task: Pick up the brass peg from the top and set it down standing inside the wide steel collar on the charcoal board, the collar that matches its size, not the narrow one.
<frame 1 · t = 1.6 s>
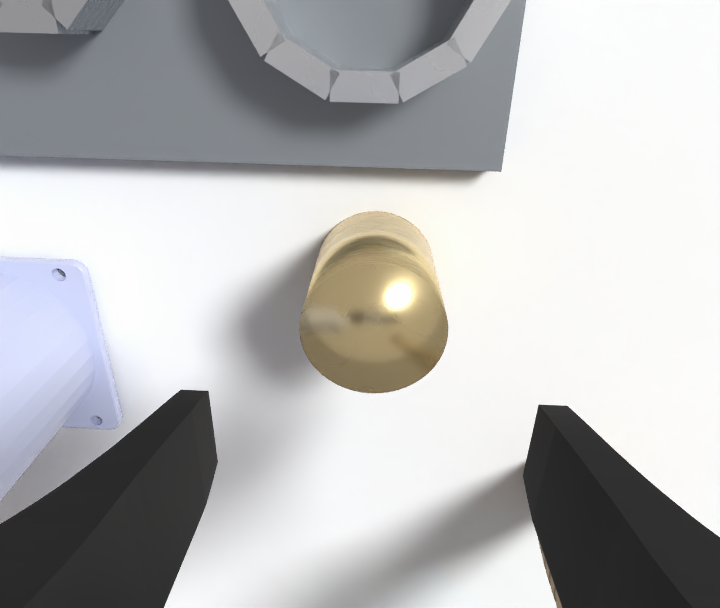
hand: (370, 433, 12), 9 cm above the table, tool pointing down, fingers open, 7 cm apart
brass peg: (375, 267, 20), on the table
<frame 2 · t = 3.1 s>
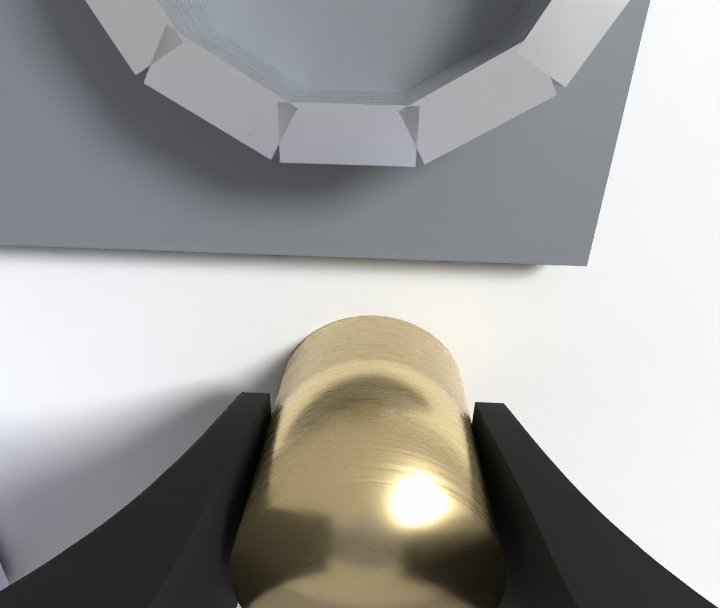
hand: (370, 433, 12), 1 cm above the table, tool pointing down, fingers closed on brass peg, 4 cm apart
brass peg: (371, 394, 13), on the table, touching gripper
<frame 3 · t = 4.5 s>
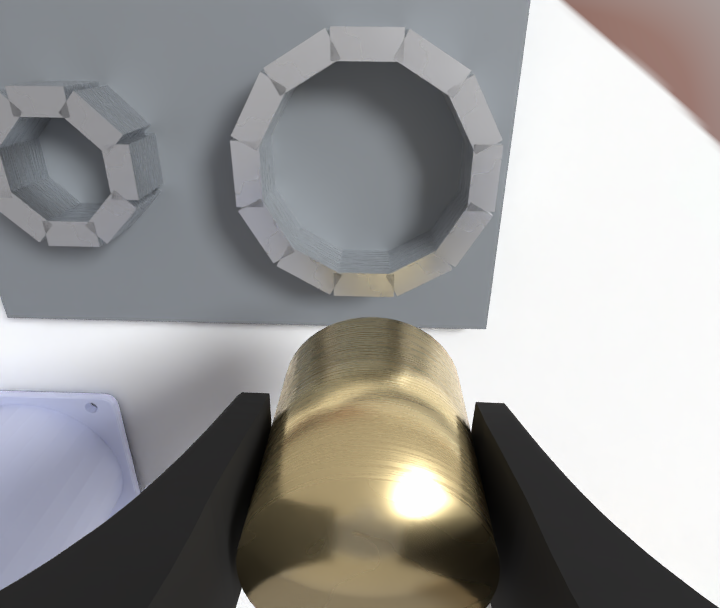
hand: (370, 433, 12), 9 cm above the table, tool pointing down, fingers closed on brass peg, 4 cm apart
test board: (234, 154, 18), on the table
wide collar: (367, 156, 18), resting on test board
narrow collar: (103, 152, 18), resting on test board
brass peg: (371, 393, 13), point 7 cm above the table, touching gripper
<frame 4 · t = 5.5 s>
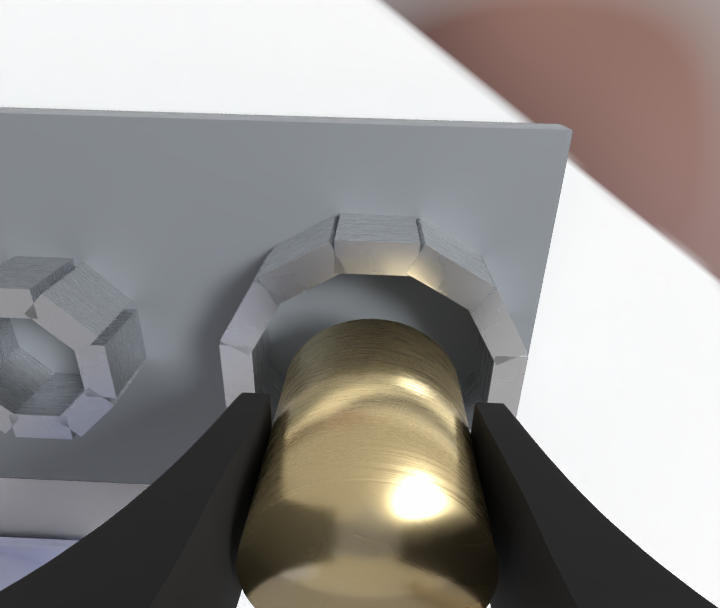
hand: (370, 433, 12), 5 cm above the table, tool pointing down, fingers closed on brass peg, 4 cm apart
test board: (226, 319, 16), on the table
wide collar: (372, 325, 16), resting on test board
narrow collar: (81, 314, 16), resting on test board
brass peg: (371, 394, 13), point 3 cm above the table, touching gripper
when the fingers open (4 cm above the table, at t = 6.2 s): brass peg drops 1 cm, resting on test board.
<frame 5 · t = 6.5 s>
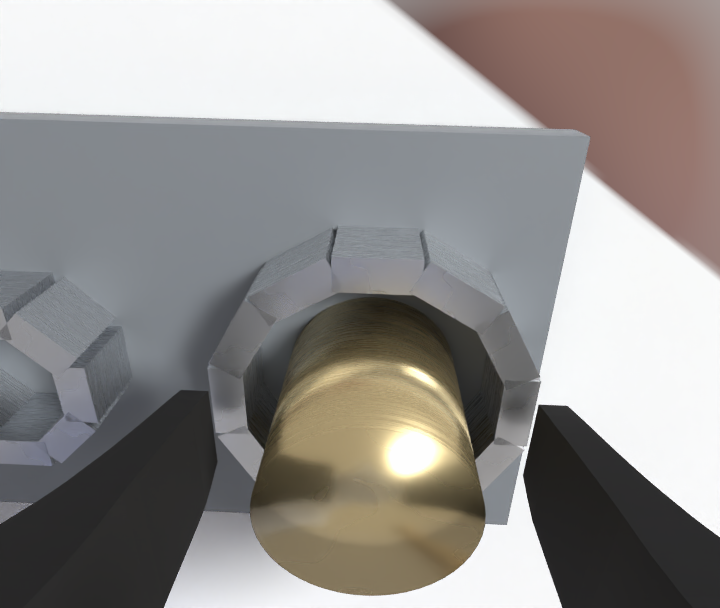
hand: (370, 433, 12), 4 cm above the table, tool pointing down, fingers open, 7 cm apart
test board: (217, 336, 15), on the table
wide collar: (373, 342, 15), resting on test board
narrow collar: (64, 330, 15), resting on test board
brass peg: (371, 369, 14), point 1 cm above the table, touching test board
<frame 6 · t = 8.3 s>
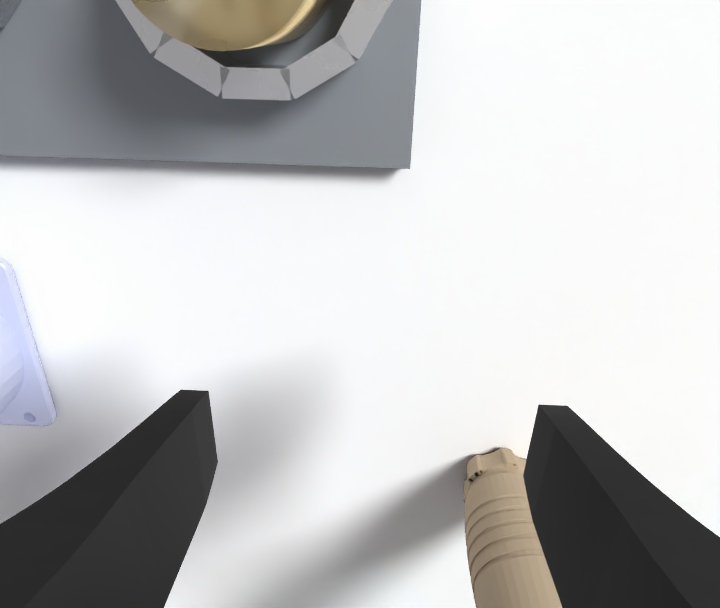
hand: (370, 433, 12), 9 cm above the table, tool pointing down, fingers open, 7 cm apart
handle: (495, 467, 25), on the table
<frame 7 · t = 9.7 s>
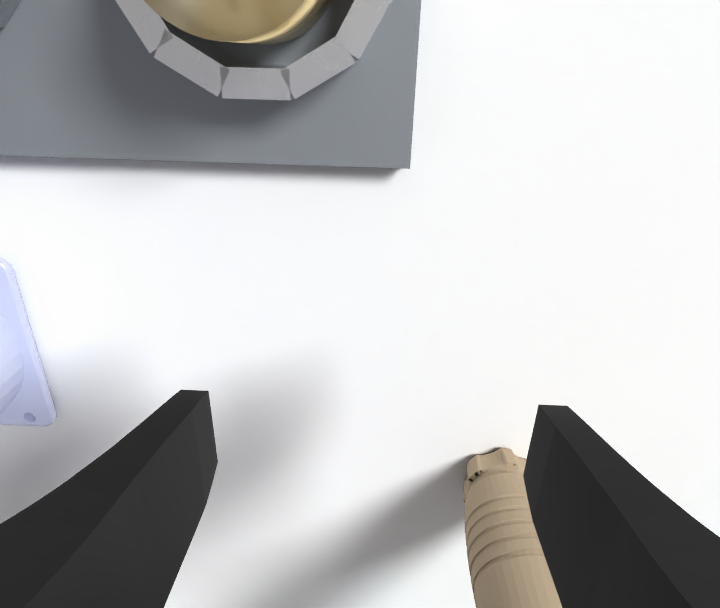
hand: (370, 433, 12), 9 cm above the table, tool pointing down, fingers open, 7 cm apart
handle: (495, 467, 25), on the table
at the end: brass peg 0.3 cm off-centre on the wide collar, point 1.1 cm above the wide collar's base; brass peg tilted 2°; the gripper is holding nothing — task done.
